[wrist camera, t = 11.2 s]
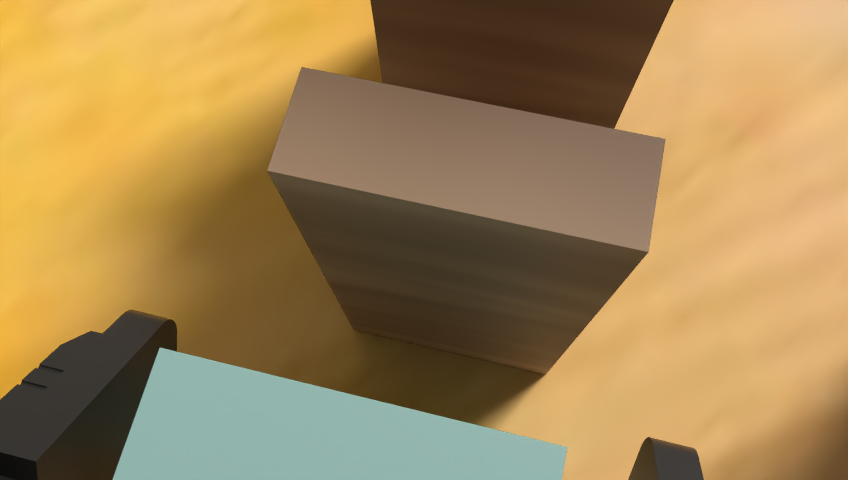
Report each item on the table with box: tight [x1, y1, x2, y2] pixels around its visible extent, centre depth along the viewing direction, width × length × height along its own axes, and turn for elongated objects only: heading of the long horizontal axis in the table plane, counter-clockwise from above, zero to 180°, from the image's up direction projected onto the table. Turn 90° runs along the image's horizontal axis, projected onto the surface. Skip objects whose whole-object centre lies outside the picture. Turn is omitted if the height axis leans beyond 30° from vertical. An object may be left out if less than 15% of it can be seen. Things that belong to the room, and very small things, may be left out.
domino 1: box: [371, 0, 673, 129], centre depth 16 cm, size 2×5×10 cm, turn 76°
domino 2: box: [267, 67, 665, 375], centre depth 15 cm, size 2×5×10 cm, turn 77°
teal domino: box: [113, 348, 567, 480], centre depth 13 cm, size 2×5×10 cm, turn 77°
